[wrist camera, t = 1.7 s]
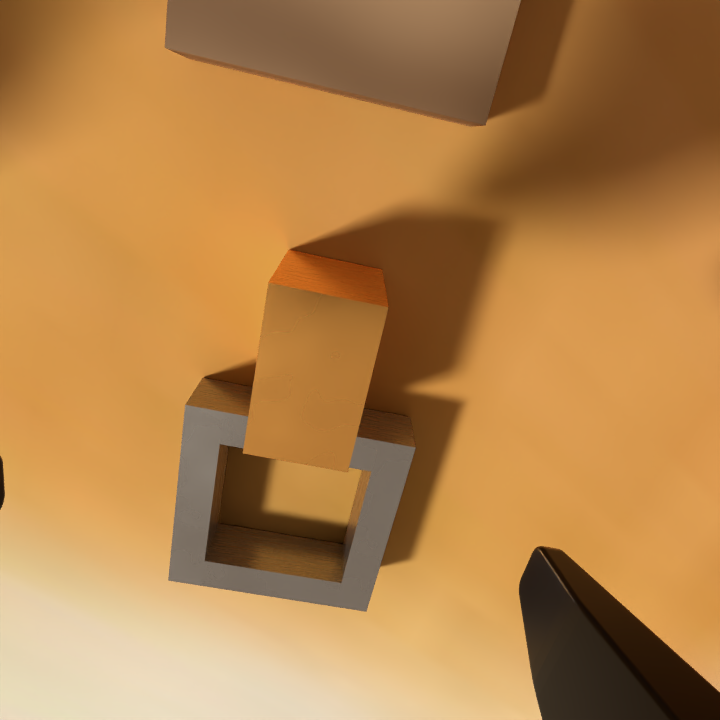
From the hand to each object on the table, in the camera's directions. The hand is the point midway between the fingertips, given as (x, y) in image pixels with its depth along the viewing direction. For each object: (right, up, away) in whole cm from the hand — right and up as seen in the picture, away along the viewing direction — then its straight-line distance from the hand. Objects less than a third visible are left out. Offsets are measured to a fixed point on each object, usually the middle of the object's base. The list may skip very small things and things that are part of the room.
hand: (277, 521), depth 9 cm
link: (-1, 0, +10) cm, 10 cm away
